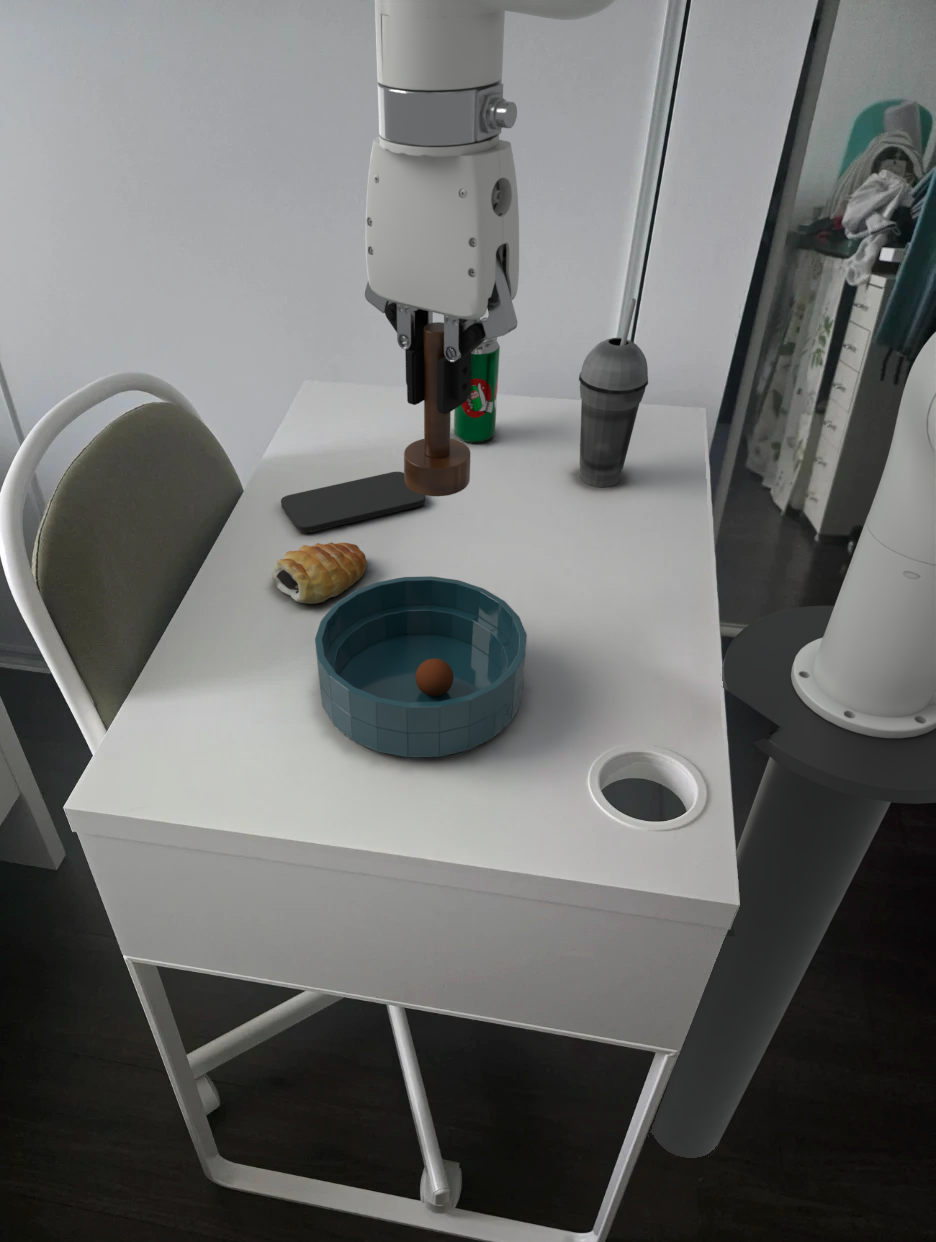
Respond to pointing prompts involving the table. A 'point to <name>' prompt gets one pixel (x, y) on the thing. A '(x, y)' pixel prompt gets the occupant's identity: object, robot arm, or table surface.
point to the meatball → (434, 677)
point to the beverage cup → (610, 405)
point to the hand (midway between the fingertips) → (437, 400)
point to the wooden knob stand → (435, 435)
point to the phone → (350, 502)
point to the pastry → (319, 571)
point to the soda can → (480, 396)
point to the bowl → (399, 643)
